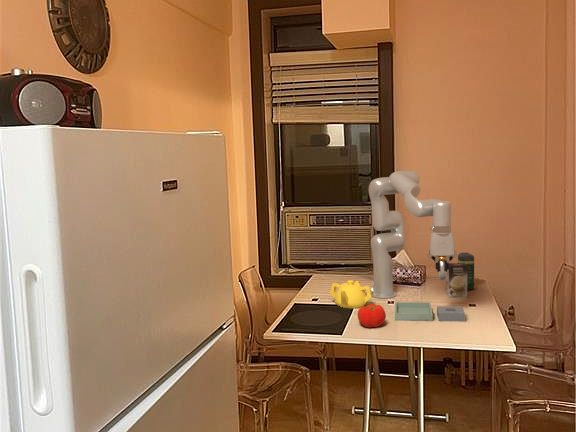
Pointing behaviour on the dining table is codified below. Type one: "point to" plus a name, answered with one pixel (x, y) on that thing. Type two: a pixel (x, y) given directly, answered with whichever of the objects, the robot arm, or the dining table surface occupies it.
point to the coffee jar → (468, 268)
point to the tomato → (371, 315)
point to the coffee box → (457, 280)
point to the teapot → (350, 294)
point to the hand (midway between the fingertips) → (442, 270)
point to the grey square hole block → (450, 313)
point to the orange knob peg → (442, 267)
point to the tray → (413, 311)
